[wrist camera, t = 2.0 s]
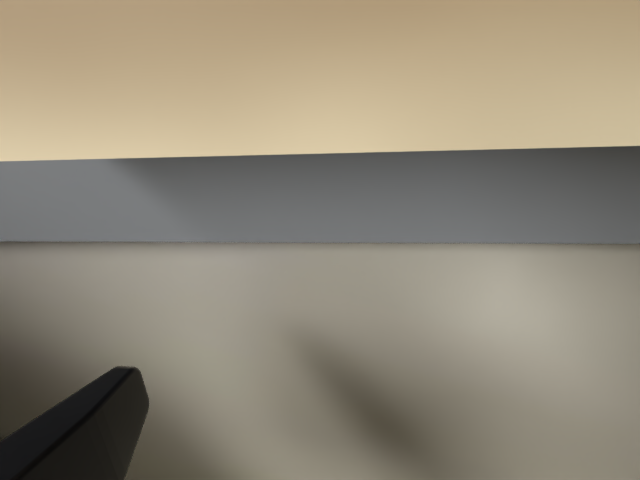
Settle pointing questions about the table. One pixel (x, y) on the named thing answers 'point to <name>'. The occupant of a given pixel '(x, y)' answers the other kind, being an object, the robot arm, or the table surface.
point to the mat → (330, 197)
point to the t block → (314, 76)
